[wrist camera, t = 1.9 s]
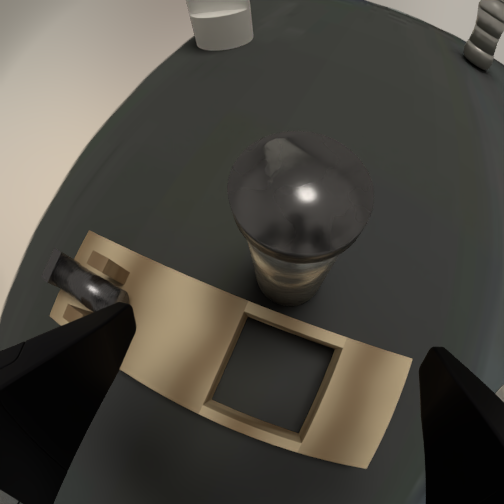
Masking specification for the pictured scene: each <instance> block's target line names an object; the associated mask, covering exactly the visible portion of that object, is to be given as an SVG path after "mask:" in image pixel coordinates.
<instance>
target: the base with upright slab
mask: <svg viewBox="0 0 504 504" xmlns="http://www.w3.org/2000/svg"><path fill="white" fill-rule="evenodd" d="M186 3H187V6H188V11H189V15H190V19H191V23H192V27H193V31H194V35H195V39H196V43H197V46H198V47H199V48H201V49H204V50H210V51H219V50H228V49H232V48H236V47H239V46H243V45H245V44H247V43H248V42H250V41H251V40H252V39H253V27H252V18H251V8H250V0H186Z"/></svg>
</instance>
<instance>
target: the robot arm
mask: <svg viewBox="0 0 504 504" xmlns="http://www.w3.org/2000/svg"><path fill="white" fill-rule="evenodd" d="M135 333H136V321H135V316H134V312H133V307H132V306H131V305H130V304H127V303H124V302H117V303H115V304H112V305H110V306H108V307H105V308H103V309H100V310H98V311H96V312H93V313H91V314H88V315H86V316H84V317H81V318H79V319H76V320H74V321H72V322H69V323H67V324H64V325H62V326H60V327H57V328H55V329H53V330H50V331H48V332H45V333H43V334H41V335H38V336H36V337H34V338H31V339H29V340H27V341H26V342H22V343H19V344H17V345H15V346H12V347H10V348H7V349H5V350H2V351H0V504H19V503H20V502H21V503H23V504H53V503H54V501H55V499H56V496H57V494H58V492H59V489H60V487H61V485H62V483H63V480H64V478H65V476H66V474H67V471H68V469H69V467H70V465H71V463H72V460H73V458H74V456H75V454H76V452H77V450H78V448H79V446H80V444H81V442H82V440H83V438H84V436H85V434H86V432H87V430H88V428H89V426H90V424H91V422H92V420H93V418H94V416H95V414H96V412H97V410H98V409H99V407H100V405H101V403H102V401H103V399H104V397H105V395H106V394H107V392H108V390H109V388H110V386H111V384H112V383H113V381H114V379H115V377H116V375H117V373H118V371H119V369H120V367H121V365H122V363H123V360H124V358H125V356H126V353H127V351H128V349H129V346H130V344H131V342H132V339H133V337H134V335H135ZM419 383H420V405H421V421H422V430H423V440H424V453H425V471H426V504H504V402H503V401H502V400H501V399H500V398H499V397H498V396H497V395H496V394H495V393H494V392H493V391H492V390H491V389H489V388H488V387H487V386H486V385H485V384H484V383H483V382H482V381H481V380H480V379H479V378H478V377H477V376H475V375H474V374H473V373H472V372H471V371H470V370H469V369H468V368H467V367H466V366H464V365H463V364H462V363H461V362H460V361H459V360H458V359H457V358H455V357H454V356H453V355H452V354H451V353H450V352H449V351H447V350H446V349H445V348H444V347H432V348H431V349H430V350H429V351H428V353H427V355H426V357H425V359H424V360H423V362H422V364H421V366H420V368H419Z"/></svg>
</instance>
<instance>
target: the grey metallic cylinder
mask: <svg viewBox="0 0 504 504" xmlns="http://www.w3.org/2000/svg"><path fill="white" fill-rule="evenodd" d="M227 188H228V199H229V203H230V207H231V210H232V213H233V216H234V219H235V222H236V224H237V226H238V228H239V230H240V232H241V233H242V234H243V236H244V237H245V238H246V239H247V241H248V245H249V249H250V254H251V258H252V262H253V266H254V270H255V274H256V278H257V282H258V285H259V288H260V290H261V291H262V293H263V294H264V295H265V296H266V297H267V298H268V299H269V300H270V301H272V302H274V303H276V304H278V305H282V306H297V305H300V304H303V303H305V302H307V301H308V300H310V299H311V298H312V297H313V296H314V295H315V294H316V292H317V291H318V289H319V287H320V286H321V284H322V283H323V281H324V279H325V278H326V276H327V274H328V273H329V271H330V269H331V268H332V266H333V264H334V263H335V261H336V259H337V258H338V256H339V254H341V253H342V252H344V251H345V250H346V249H348V248H349V247H350V246H351V245H352V244H353V243H354V242H355V241H356V239H357V238H358V236H359V235H360V234H361V232H362V230H363V229H364V227H365V225H366V224H367V222H368V220H369V218H370V216H371V213H372V209H373V204H374V189H373V184H372V180H371V177H370V175H369V173H368V171H367V169H366V167H365V166H364V164H363V163H362V161H361V160H360V159H359V158H358V157H357V156H356V155H355V154H354V153H353V152H352V151H351V150H350V149H349V148H347V147H346V146H345V145H343V144H341V143H340V142H338V141H336V140H334V139H332V138H330V137H327V136H324V135H322V134H318V133H313V132H307V131H286V132H279V133H276V134H272V135H269V136H266V137H264V138H262V139H260V140H258V141H256V142H254V143H253V144H252V145H250V146H249V147H248V148H246V149H245V150H244V151H243V152H242V153H241V155H240V156H239V157H238V158H237V160H236V161H235V163H234V165H233V167H232V169H231V171H230V175H229V178H228V185H227Z"/></svg>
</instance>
